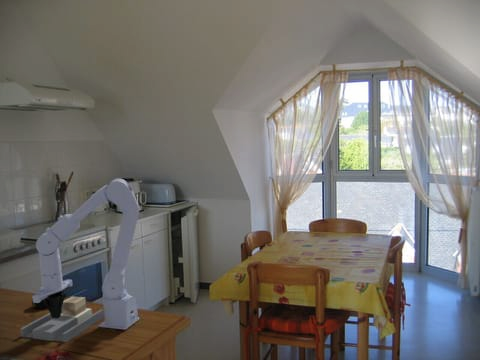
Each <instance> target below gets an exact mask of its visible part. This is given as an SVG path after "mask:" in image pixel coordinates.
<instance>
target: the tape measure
mask: <svg viewBox="0 0 480 360" xmlns="http://www.w3.org/2000/svg"><path fill="white" fill-rule="evenodd" d="M31 304H32V305H31V306H33V308H36V309H44V308H48V307H47V306H46V304H45V303H44V302H43V301H42V300H41V302H39V303H33V298H32V299H31Z"/></svg>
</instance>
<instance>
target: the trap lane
mask: <svg viewBox="0 0 480 360" xmlns="http://www.w3.org/2000/svg"><path fill="white" fill-rule="evenodd" d="M102 319H105V316H104V309H99V310H98V311H96V312H95V313H93V309H92V308H90V307H89V308H87V307H86V310H85V311H83V312H82V313H80V314H78V315H77V316H73V315H63V311H62V310H61V316H60V317H59V318H52V316H51V314H50V312H48V313H46V314H45V315H42V317H39V318H37V319H35V320H34V321H32V322H29V323H28V324H26V325H25V326H23V327H21V328H19V332H20V338H24V339H25V338H26V339H34V340H41V341H42V340H43V341H49V342H50V341H51V342H58V343H67V342H69V341H71V340H72V339H73V338H75V337H76V336H78V335H80V334H81V333H83V332H84V331H86V330H88V329H89V328H90V327H92V326H93V325H95V324H96V323H98V322H99V321H101V320H102Z"/></svg>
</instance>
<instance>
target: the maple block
mask: <svg viewBox="0 0 480 360" xmlns="http://www.w3.org/2000/svg"><path fill="white" fill-rule="evenodd" d="M86 308H87V302H86V297H85V296H84V297H83V296H70V297H69V298H67V299H64V301H63V305H62V311H63V315H73V316H77V315H78V314H80V313H82V312H83V311H85V310H86Z"/></svg>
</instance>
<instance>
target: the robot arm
mask: <svg viewBox="0 0 480 360" xmlns="http://www.w3.org/2000/svg"><path fill="white" fill-rule="evenodd" d="M110 202H112V203H113V204H115V205H116V206H117V207H118V208H119V210H120V211H121V213H122V219H121V222H120V225H119V231H118V235H117V239H116V243H115V247H114V251H113V255H112V258H111V259H112V260H111V263H110V268H109V270H108V271H107V272H106V273H105V276H104V281H103V283H102V286H101V291H102V293H103V294H102V301H103V302H102V303H103V311H104V321H103V322H101V323H100V324H99V325H98V327H99V328H106V329H107V328H109V329H118V330H127V329H129V328H130V327H131V326H132V325H133V324H135V323H136V322H138V321H140V317H139V315H138V304H137V299H136V297H135V296H133V295H130V294H129V293H128V290H126V288H125V283H126V276H125V273H126V272H125V271H126V268H127V263H128V259H129V256H130V252H131V247H132V243H133V238H134V235H135V232H136V227H137V223H138V219H139V215H140V205H139V203H138V200H137V198H136V195H135V192H134V189H133V187H132V186H131V185H130V184H129V182H127V181H126V180H125V179H123V178H113V179H112V180H111V181H110V182H109V184H105V185H104V186H102V187H101V188H100V189H98V190H97V191H96V192H94V193H93V194H92V195H91V196H90V197H89V198H88V199H87V200H86V201H84V203H82V204H81V205H80V206H79V208H77V209H76V210H75V211H74V212H72V213H66V214H64V215H60V216H59V217H58V218H57V221H56V222H55V223H53V225H52V226H50V227H47V228H46V229H45V230H44V231H45V232H44V233H42V234H41V235H40V236H39V238H37V240H36V242H35V249H36V252H37V251H38V256H39V269H40V276H41V277H40V278H41V286H40V290H39V291H38V292H36V293H35V294H34V295H32V299H33V303H39V302H41V300H42V301H43V302H44V303H45V304H46V306H47V307H46V308H47V309H48V311H49V312H48V313H50V314H51V316H52V318H59V317H60V316H61V310H62V305H63V301H65V300H66V299H65V298H66V296H67V292H66V291H63V290H65V289H66V288H71V287H73V285H74V284H73V279H64V278H63V272H62V261H61V260H62V259H61V256H60V248H59V247H60V245H61V244H63V243H65V242H66V241H67V240H68V239H69V238H70V237H71V236H72V235H73V234H75V233H76V232H77V231H78V230H79V229H80V225H81V224H80V222H81V221H82V220H84V219H85V218H86V217H87V216H88V215H89V214H91V213H92V212H93V211H94V210H95V209H97V208H98V207H99V206H101V205H107V204H109V203H110ZM63 279H64V280H63Z"/></svg>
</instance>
